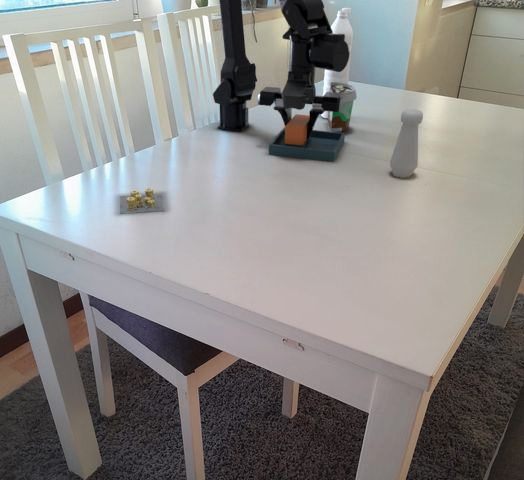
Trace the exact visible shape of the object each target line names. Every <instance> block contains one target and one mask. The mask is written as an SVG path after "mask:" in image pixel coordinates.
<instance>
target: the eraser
mask: <svg viewBox="0 0 524 480" xmlns="http://www.w3.org/2000/svg"><path fill="white" fill-rule="evenodd" d="M309 117H310V116H309V115H308V114H297V113H296V114H294V116H293V117H292V119H291V120H290V121H289V122H288V124H287V125H286V126H285V125H284V127H285V146H292V147H302V148H304V147H305V145H306V144H307V143H308V141H309V140H310V138H311V137H312V133H311V135H310V138H309V139H308V140H307V130H308V123H309Z"/></svg>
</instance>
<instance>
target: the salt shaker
mask: <svg viewBox="0 0 524 480" xmlns="http://www.w3.org/2000/svg"><path fill="white" fill-rule="evenodd" d="M423 119H424V113H423V112H422V110H420V109H417V108H406V109H404V110H403V111H402V112H401V114H400V122H401V123H402V125H401V127H400V131H399V134H398V136H397V140H396V142H395V146H394V148H393V151H392V153H391V154H392V155H391V157H390V161H389V166H390V169H391V174H392V175H393V177H397V178H402V179H403V178H405V179H406V178H411V176H412V175H413V174H414V172H415V171H416V169H418V167H419V166H418V165H419V125H420V124H422V122H423Z"/></svg>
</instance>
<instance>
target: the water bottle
mask: <svg viewBox="0 0 524 480" xmlns="http://www.w3.org/2000/svg"><path fill="white" fill-rule="evenodd" d="M348 14H352V7H342V8H341V10H338V11H337V14H336V18H335V20H334V21H333V22H332V23H331V25H330V26H331V29H332V31H333V34H344V35H345V40H344V41H345V42H346V43H347V45H348V48H349V52H350V54H349V60H348V63H347V65H346V67H345V68H344V69H343V71H341V72H335V71H331V70H326V69H324V78H323V91H322V96H324V95H325V93H326V92H330V85H331V82H337V83H344V84H349V80H350V72H351V71H350V70H351V62H352V61H351V60H352V59H351V58H352V51H353V43H354V42H353V41H354V29H353V28H352V26H351V23H350V21H349V19H348V16H349V15H348ZM328 112H329V111H324V113H323V114H320V115H321V117H322V118H323V119H326V120H328Z"/></svg>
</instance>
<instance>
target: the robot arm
mask: <svg viewBox="0 0 524 480" xmlns="http://www.w3.org/2000/svg"><path fill="white" fill-rule="evenodd" d="M278 1H279V5H280V12H281V14H282V16H283V17H284V19H285V21H286V24H287V25H288V29H287V31H286V32H284V33H283V34H282V39H283V40H288V41H289V62H288V63H289V65H288V72H287V79H286V81H285V85H284V87H283V90H281V87H276V86H265V87H264V88H263V89H261V90H260V91H259V92H258V94H257V105H259V106H264V107H265V106H266V107H271V106H272V105H273V104H274V106H273V110H274V111H277V112H278V114H280V116H281V119H282V121H283V124H284V127H285V126H286V125H287V124H288V122H289V121H290V120H291V119H292V118H293V117H292V115H293V113H292V112H293V111H292V110H293V109H295V110H300V111H301V110H303V109H305V107H306V105H311V107H312V108H311V109H310V110H309V111H308V112H309V113H308V114H309V116H310V117H309V123H308V130H307V140H308V139H309V138H310V135H311V133H312V130H314V128H315V125H316V123H317V120H318V118H319V116H320V115H321V114H323V113H324V111H330V112H339V111H340V109H341V108H342V106H343V99H344V98H343V95H342V93H335V92H326V93H325V95H324V96H323V95H317V92H316V91H317V90H316V89H317V88H316V85H315V79H316V78H315V77H316V69H322V70H325V69H326V70H331V71H335V72H341V71H343V69H344V68H345V67H346V65H347V63H348V60H349V54H350V52H349V48H348V45H347V43H346V42H345V41H344V40H345V35H344V34H333V31H332V29H331V26H332V25H331V24H330V21H329V19H328V17H327V14H326V12H325V10H324V9H325V4H324V2H323V1H322V0H278ZM218 2H219V10H220V19H221V30H222V38H223V49H224V60H223V63H222V66H221V69H220V83H219V85H218V86H217V87H216V88H215V90H214V91H213V93H212V98H213V102H214V104H217V105H219V125H218V126H217V129H218V130H227V131H236V132H242V131H244V129H246V127H248V126H249V124H250V123H249V107H247V102H249V101H251V100H252V97H253V93H254V91H255V90H256V87H257V86H256V85H257V82H258V78H257V73H256V72H257V71H256V70H257V66H256V63H254V62H253V63H251V62H250V60H249V58H248V57H247V53H246V43H245V41H246V40H245V29H244V20H243V19H244V17H243V8H242V7H243V6H242V0H219V1H218Z"/></svg>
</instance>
